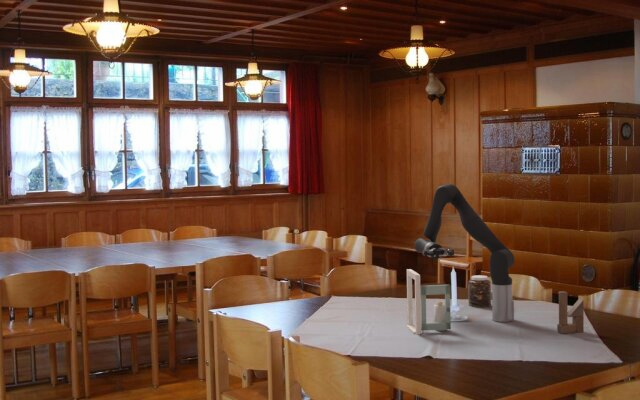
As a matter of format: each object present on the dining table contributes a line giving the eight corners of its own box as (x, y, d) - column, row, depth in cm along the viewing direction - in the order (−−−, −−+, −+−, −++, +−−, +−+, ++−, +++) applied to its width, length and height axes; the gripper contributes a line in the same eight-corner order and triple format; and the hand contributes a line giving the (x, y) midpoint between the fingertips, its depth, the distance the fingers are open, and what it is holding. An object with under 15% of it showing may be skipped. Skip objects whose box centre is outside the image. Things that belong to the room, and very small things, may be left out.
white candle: (444, 328, 355) (443, 300, 354) (447, 330, 350) (447, 302, 349) (433, 328, 355) (432, 300, 354) (436, 331, 349) (435, 302, 349)
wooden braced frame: (583, 332, 340) (583, 291, 339) (561, 334, 338) (561, 292, 337) (579, 330, 344) (579, 290, 343) (557, 332, 342) (556, 291, 341)
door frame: (414, 325, 362) (412, 268, 360) (423, 334, 344) (422, 274, 342) (405, 326, 361) (404, 269, 360) (414, 334, 344) (413, 275, 342)
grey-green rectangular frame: (422, 331, 344) (422, 286, 343) (421, 330, 347) (420, 285, 346) (451, 329, 346) (450, 285, 345) (449, 328, 349) (449, 284, 347)
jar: (494, 304, 407) (494, 275, 406) (486, 308, 397) (486, 278, 396) (473, 302, 413) (472, 274, 413) (464, 306, 404) (464, 277, 403)
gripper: (418, 243, 381) (427, 247, 365) (447, 242, 382) (456, 245, 366) (419, 258, 381) (427, 263, 365) (447, 257, 383) (457, 261, 367)
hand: (442, 254), depth 366 cm, fingers open, 8 cm apart
